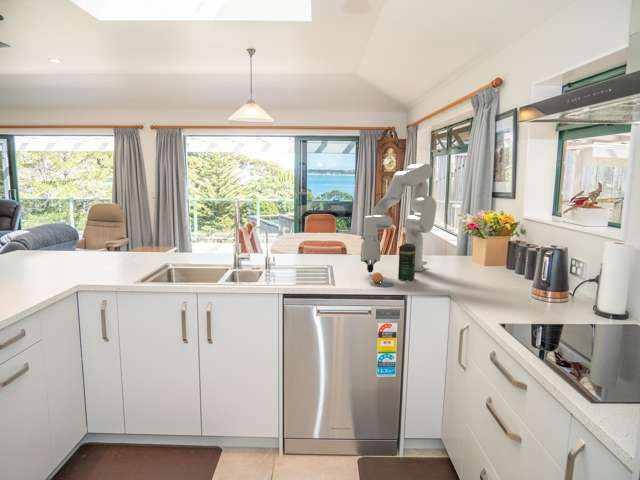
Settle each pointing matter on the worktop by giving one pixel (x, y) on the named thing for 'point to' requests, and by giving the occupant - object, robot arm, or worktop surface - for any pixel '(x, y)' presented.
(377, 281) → the ball
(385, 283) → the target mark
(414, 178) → the robot arm
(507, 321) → the worktop surface
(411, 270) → the coffee jar
